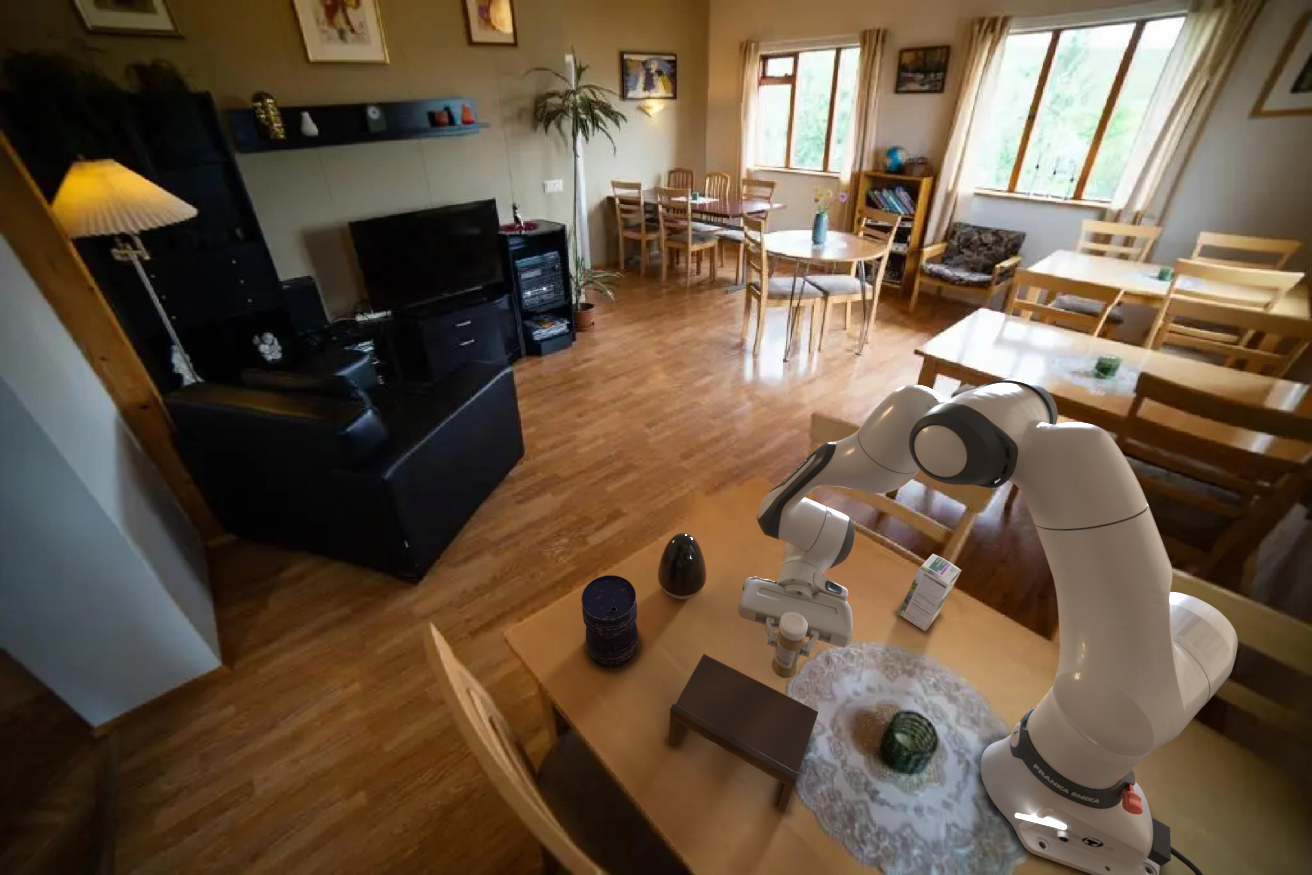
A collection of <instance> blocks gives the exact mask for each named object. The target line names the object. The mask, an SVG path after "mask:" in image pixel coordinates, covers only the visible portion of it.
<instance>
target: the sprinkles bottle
mask: <svg viewBox="0 0 1312 875" xmlns="http://www.w3.org/2000/svg"><path fill="white" fill-rule="evenodd" d="M807 627H808V625H807V621H806V619H805V618H804V617H803V616H802V615H800V614H798V613H796V612H787V613H785V614H783V615H782V617H781V619H780V623H779V629H778V633H777V634H778V637H777V643H776V647H774V651H773V658H772V661H771V668H772V671H773V673H774V674H776V676H778V677H780V678H782V679H791V678H793V677H795V675H796V674H797V671H798V664H799V661H800V657H801V655H800V652H801V648H802V644H803V642H804V639H805V635H806V632H807Z"/></svg>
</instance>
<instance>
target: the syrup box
mask: <svg viewBox="0 0 1312 875" xmlns="http://www.w3.org/2000/svg"><path fill="white" fill-rule="evenodd" d="M961 572H962V569H960V568H959V567H957V565H954V564H953V563H952V562H950V561H948V560H946V559H945V558H943V557H941V556H939V555H937V554H934V553H932V554H931V555H930V556H929V557H928V558H927V559H926V560H925V562H923V564H921V566H920V567H919V568H918V570H917V571H916V574H915V577H914V578H913V581H912V583H911V585H910V587H909V589H908V591H907V593H906V596H905V597H904V600H903V603H902V605H901V606H900V609H899V611H898V615H899V616H901V617H902V618H904V619H905V620H907V621H908V622H909V623H912V625H914V626H916V627H917V628H919V629H921V630H922V631H923V632H926V631H927V630H928V629H929V627H930V626H931V625H932V623H933V622H934V621H935V620H936V618H937V617H938V615H939V614H940V613H941V610H942V608H943V606H944V604H945V603H946V601H947V599H948V597H949V595H950V594H951V591H952V589H953V587H954V586H955V584H956V581H957V580H958V578H959V576H960V574H961Z"/></svg>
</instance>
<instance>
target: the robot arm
mask: <svg viewBox="0 0 1312 875" xmlns="http://www.w3.org/2000/svg"><path fill="white" fill-rule="evenodd" d="M1057 422H1058V408H1057V404H1056V401H1055V399H1054V397H1053V396H1052V395H1051V393H1050V392H1049V391H1048V390H1047V389H1046V388H1044V387H1043V386H1041V385H1040V384H1038V383H1036V382H1033V381H1031V380H1027V379H1020V378H1007V379H998V380H995V381H991V382H988V383H985V384H981V385H979V386H976V387H973V388H969V389H966V390H964V391H963V392H961V393H959V394H956V395H954V396H952V397H950V398H947V397H944V396H943V395H941V394H940V392H937V391H935V389H932V388H930V387H928V386H924V385H921V384H907V385H903V386H900V387H897V388H895V390H893V391H892V392H891V393H890V394H889V395H887V396H886V398H884V399H883V400H882V401H881V402H880V403H879V404H878V405H877V406H876V407H875V408H874V409H873V410H872V411H871V413H870V414H869V415H868V416H867V418H866V419H865V420H864V422H862V424H861V425H860V427H859V428H858V429H857V430H856V431H855V432H854V433H852V434H851V435H849V436H847V437H844V438H842V439H840V440H837V441H828V442H825V443H823V444H821V445H820V446H819V447H817V448H816V449H815V450H814V451H812V453H811V454H809V455H808V456H807V457H806V458H805V459H804V460H803V461H802V462H801V463H800V465H798V466H797V467H796V468H795V469H794V470H793V471H792V472H791V473H790V474H789V475H788V476H787V477H786V478H785V479H784V480H783V481H782V482H781V483H780V484H778V485H777V486H775V487H774V488H772V489H771V490H769V492H768V493H767V494H766V495H765V496H764V497H763V499H762V501H761V502H760V504H759V507H758V509H757V514H756V520H757V524H758V525H759V528H760V529H761V531H762V533H763V534H764V536H768V537H771V538H773V539H775V540H777V541H778V540H780V541H782V542H784V543H785V544H784V548H783V551H782V555H781V556H782V557H781V558H782V560H781V561H782V563H781V565H780V567H779V570H778V573H777V577H776V580H772V579H769V578H768V579H767V578H762V577H760V576H757V575H754V576H753V577H751V576H750V577H746V578H745V579H744V581H743V584H742V594H741V597H740V599H739V603H738V609H737V611H738V614H739V616H740V618H742V619H744V620H748V621H751V622H755V623H758V624H761V625H763V626H764V630H765V633H766V635H767V638H768V640H767V646H768V647H773V648H775V647H776V643H777V637H778V633H777V632H776V633H775V631H774V630H773V628H774V629H778V630H779V623H780V619H781V617H782V615H783V614H785V613H787V612H796V613H798V614H800V615H802V616H803V617H804V618H805V619H806V621H807V625H808V627H807V632H806V635H805V637H806V638H808V641H807V642H806V641H803V644H802V648H801V652H800V656H802V657H805V658H809V657H810V652H811V650H812V649H813V648H814V647H816V645H817V644H818V641H820V642H823V643H826V644H828V645H829V644H830V645H833V646H837V647H840V648H846V647H847V646H849V645H850V644H851V641H852V637H853V632H854V627H853V626H854V620H853V611H852V608H851V605H850V604H849V603H848V600H849V599H848V598H849V590H848V589H847V588H846V587H844V586H842V585H840V584H838V583H836V582H834V581H832V580H831V579H829V578H828V577H826V576H825V572H826V570H827V569H828V570H829V569H833V568H835V567H836V566H839V565H840V564H842V563H843V562H845V560H847V558H848V557H849V555H850V553H851V551H852V549H853V545H854V541H855V526H854V523H853V521H852V519H851V517H850V516H849V515H847V514H845V513H844V512H841V511H839V510H837V509H834V508H831V507H829V506H827V505H824V504H822V503H819V502H817V501H816V500H812V499H810V498H808V497H807V496H808V495H809V494H810V493H812V492H813V491H814V490H815V489H817V488H821V487H836V488H837V487H838V488H843V489H850V490H854V491H859V492H863V493H869V494H887V493H891V492H894V491H896V490H899V489H901V488H902V487H904V486H906V485H907V484H908V483H909V482H910V481H911V480H912V479H913V478H915V476H916V475H917V474H918V473H919V472H920V471H921V472H922V473H923V474H925V475H926V476H927V477H929V478H931V479H932V480H934V481H937V482H940V483H942V484H946V485H947V484H948V485H953V486H954V485H956V486H972V485H973V486H978V487H982V488H987V489H988V488H989V489H997V488H1000V487H1002V486H1003V485H1005V484H1007V482H1010V483H1011V484H1013V485H1015V486H1016V487H1017V488H1018V489H1019V491H1020V492H1021V494H1022V495H1023V497H1024V500H1025V502H1026V505H1027V507H1028V511H1029V514H1030V516H1031V518H1032V522H1033V524H1034V527H1035V529H1036V533H1037V535H1038V538H1039V541H1040V544H1041V546H1042V549H1043V551H1044V555H1045V557H1046V561H1047V563H1048V566H1049V570H1050V572H1051V575H1052V578H1053V582H1054V588H1055V594H1056V601H1057V612H1058V613H1057V614H1058V615H1057V617H1058V630H1059V631H1058V634H1059V656H1058V665H1057V669H1056V674H1055V677H1054V681H1053V684H1052V686H1051V688H1050V689H1049V690H1048V691H1047V693H1046V694H1045V695H1044V696H1043V697H1042V699H1041V700H1040V701H1039V703H1038V704H1037V705H1035V706H1032V707H1031V708H1030V709H1029V710H1028V711H1027V712H1026V713H1025V714H1024V715H1023V716H1022V718H1021V719H1020V720H1019V721H1017V723H1016V724H1015V726H1014V727H1013V729H1012V731H1011V734H1009V735H1008V736H1006V737H1005V738H1003V739H1001V740H997V741H995V742H992V743H991V744H989V745H988V746H987V747H986V748H985V749H984V751H983V752H982V755H981V758H980V764H979V766H980V770H979V771H980V776H981V780H982V783H983V786H984V788H985V790H986V792H987V794H988V796H989V798H990V799H991V801H992V803H993V804H994V805H995V807H996V808H997V809H998V811H999V812H1000V813H1001V814H1002V815H1003V816H1004V817H1005V819H1006V820H1007V821H1008V822H1009V824H1010V825H1011V826H1012V827H1013V829H1014V831H1015V833H1016V836H1017V837H1018V839H1019V841H1020V843H1021V844H1022V846H1023V848H1025V849H1026V851H1027V852H1029V853H1031V855H1035V856H1038V857H1041V858H1044V859H1047V860H1050V861H1051V862H1055V863H1058V864H1061V865H1064V866H1066V867H1069V868H1072V869H1076V870H1078V871H1080V872H1084V873H1087V874H1090V875H1160V870H1161V868H1160V867H1163V866H1164V865H1166V864H1167V863H1169V862H1171V860H1172V856H1174V857H1175V858H1176V859H1178V861H1180V862H1182V863H1183V864H1184V865H1185V866H1187V868H1189V869H1190V870H1191V872H1193V873H1194V874H1195V875H1204V873H1203V872H1202V871H1201V869H1199V867H1198V866H1197V865H1196V864H1195V863H1194V862H1192V861H1191V860H1190V859H1189V858H1188V857H1186V856H1185V855H1184V854H1183V853H1181V852H1180V851H1178V850H1177V849H1175V848H1174V847H1173V846H1172V844H1171V827H1170V826H1168V825H1167V824H1165V823H1163V822H1161V821H1159V820H1158V819H1156V818H1154V817H1152V814H1151V810H1150V806H1149V803H1148V801H1147V798H1146V796H1145V794H1144V792H1143V789H1142V788H1141V787H1140V785H1139V784H1138V782H1137V781H1136V777H1135V776H1136V775H1135V773H1134V768H1136V767H1137V766H1138V765H1139V764H1140V763H1142V761H1144V760H1145V759H1146V758H1147V757H1148V756H1149V755H1150V754H1151V753H1152V752H1153V751H1155V750H1156V749H1158V748H1160V747H1162V746H1164V745H1165V744H1167V743H1169V742H1171V741H1173V740H1175V739H1176V738H1177V737H1179V736H1180V735H1181V733H1183V731H1184V730H1185V728H1186V727H1187V726H1188V725H1189V724H1190V722H1192V720H1193V719H1194V718H1195V717H1196V715H1197V714H1198V713H1199V712H1200V711H1201V710H1202V708H1203V707H1205V706H1206V705H1207V703H1208V702H1209V701H1210V700H1211V699H1212V697H1213V696H1214V695H1215V694H1216V693H1217V691H1218V690H1219V689H1220V688H1221V687H1222V685H1223V684H1224V683H1225V681H1227V679H1229V677H1230V675H1231V673H1232V672H1233V667H1234V665H1235V662H1236V658H1237V651H1238V646H1239V640H1238V635H1237V632H1236V630H1235V628H1234V626H1233V624H1232V623H1231V622H1230V621H1229V619H1228V618H1227V617H1226V616H1225V615H1224V614H1223V613H1222V612H1221V611H1220V610H1218V609H1217V608H1215V607H1214V606H1213V605H1211V604H1209V603H1207V602H1205V601H1204V600H1201V599H1199V598H1198V597H1195V596H1192V595H1189V594H1185V593H1181V592H1175V591H1174V592H1173V591H1171V589H1172V585H1173V584H1172V583H1173V581H1174V580H1173V578H1174V575H1173V567H1172V566H1173V565H1172V563H1171V561H1170V558H1169V555H1168V553H1167V550H1166V547H1165V545H1164V542H1163V539H1162V537H1161V534H1160V532H1159V528H1158V526H1157V523H1156V521H1155V519H1154V516H1153V513H1152V511H1151V510H1152V509H1151V508H1150V506H1149V503H1148V500H1147V498H1146V495H1145V493H1144V491H1143V489H1142V487H1141V484H1140V482H1139V480H1138V477H1137V476H1136V474H1135V473H1134V470H1133V468H1132V467H1131V465H1130V463H1129V461H1128V459H1127V458H1126V457H1125V455H1124V453H1123V452H1122V450H1121V448H1120V447H1119V446H1118V444H1117V443H1116V441H1115V440H1114V438H1113V437H1112V435H1111V434H1110V433H1109V432H1108V431H1106V430H1105V429H1103V428H1102V427H1099V426H1097V425H1095V424H1091V423H1085V422H1074V421H1073V422H1071V421H1070V422H1062V423H1057ZM805 637H804V638H805Z"/></svg>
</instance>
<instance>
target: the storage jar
mask: <svg viewBox="0 0 1312 875" xmlns="http://www.w3.org/2000/svg"><path fill="white" fill-rule="evenodd" d="M635 589H636V588H635V587H634V585H633V584H632V583H631V581H630V580H628V579H626V578H624V577H623V576H620V575H614V574H609V575H608V574H607V575H601V576H599V577H596V578H594V579H593V580H591V581H590V582H588V584H586V586H585V587H584V589H583V591H582V594H581V612H582V618H583V623H584V625H585V643H586V647H587V653H588V656H589V658H590V660H591V661H592V663H594V664H595V665H596V666H597V667H599V668H601V669H605V670H618V669H621V668H623V667H625V666H627V665H628V664H630V663H631V662H632V661H633V660H634V658H635V656H636V655H637V652H638V646H639V645H638V644H639V643H638V641H639V632H638V625H637V618H638V603H637V594H636V590H635Z"/></svg>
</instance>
